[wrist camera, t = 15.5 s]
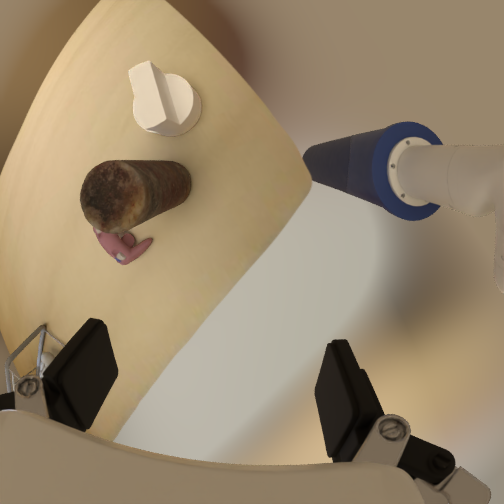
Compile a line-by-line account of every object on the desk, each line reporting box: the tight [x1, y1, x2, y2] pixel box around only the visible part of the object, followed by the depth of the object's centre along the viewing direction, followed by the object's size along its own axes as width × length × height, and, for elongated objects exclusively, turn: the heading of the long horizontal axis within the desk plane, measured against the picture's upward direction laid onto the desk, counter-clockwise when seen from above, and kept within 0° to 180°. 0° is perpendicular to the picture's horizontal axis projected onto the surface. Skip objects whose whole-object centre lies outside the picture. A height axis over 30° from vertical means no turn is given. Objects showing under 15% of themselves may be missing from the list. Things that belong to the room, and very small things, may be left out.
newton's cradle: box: [5, 325, 64, 393], centre depth 48 cm, size 30×10×18 cm, turn 145°
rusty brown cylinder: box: [80, 160, 191, 234], centre depth 32 cm, size 8×7×20 cm
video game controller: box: [93, 227, 152, 265], centre depth 42 cm, size 10×5×7 cm, turn 38°
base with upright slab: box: [128, 61, 202, 136], centre depth 32 cm, size 9×9×12 cm
